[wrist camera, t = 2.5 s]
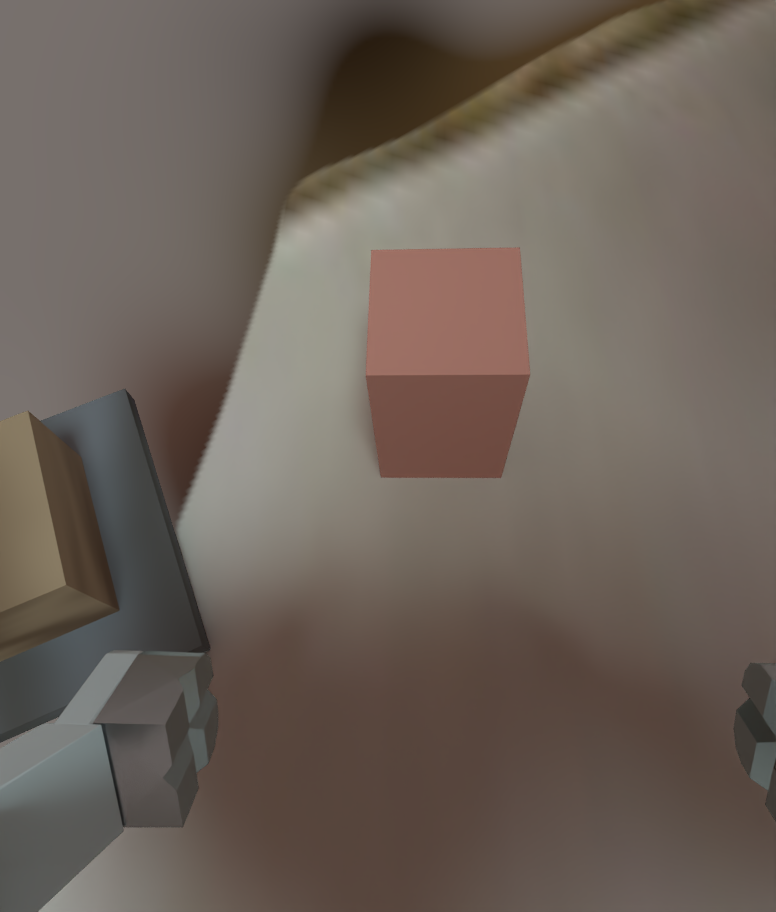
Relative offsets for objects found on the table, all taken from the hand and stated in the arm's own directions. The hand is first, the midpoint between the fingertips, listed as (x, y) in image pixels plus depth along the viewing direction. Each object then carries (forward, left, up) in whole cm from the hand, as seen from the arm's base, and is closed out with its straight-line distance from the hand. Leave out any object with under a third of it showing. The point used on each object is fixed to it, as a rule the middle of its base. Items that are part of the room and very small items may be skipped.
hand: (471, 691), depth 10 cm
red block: (-5, -11, -14) cm, 19 cm away
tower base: (+13, -12, -14) cm, 23 cm away
